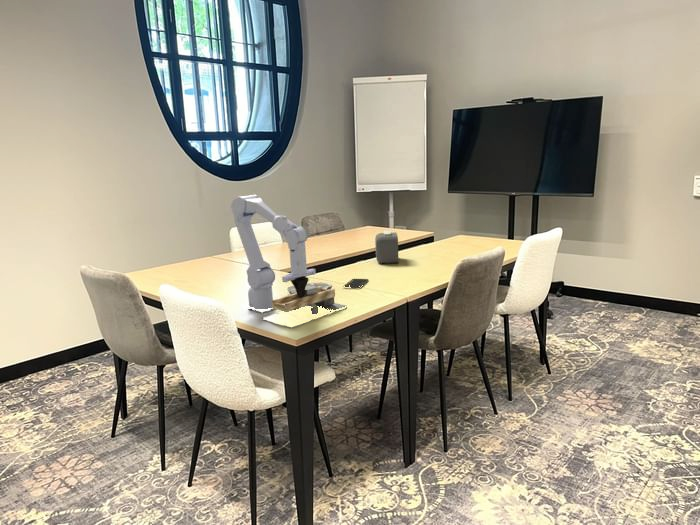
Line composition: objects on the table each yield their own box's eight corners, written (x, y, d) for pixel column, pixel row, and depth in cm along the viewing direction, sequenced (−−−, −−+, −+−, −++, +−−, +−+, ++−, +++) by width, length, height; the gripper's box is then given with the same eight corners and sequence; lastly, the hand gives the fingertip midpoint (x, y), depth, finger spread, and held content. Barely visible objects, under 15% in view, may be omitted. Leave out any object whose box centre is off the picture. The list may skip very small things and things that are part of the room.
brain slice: (309, 286, 235) (309, 280, 234) (338, 291, 224) (337, 285, 223) (277, 297, 220) (276, 290, 219) (306, 303, 209) (305, 296, 209)
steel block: (307, 300, 191) (306, 289, 190) (299, 298, 195) (298, 287, 194) (318, 297, 194) (317, 287, 193) (309, 295, 198) (309, 285, 197)
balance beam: (291, 321, 181) (290, 304, 180) (269, 315, 189) (268, 299, 188) (339, 304, 199) (338, 289, 197) (317, 300, 206) (316, 285, 205)
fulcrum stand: (291, 328, 179) (290, 319, 178) (261, 320, 190) (261, 311, 189) (346, 308, 199) (346, 299, 198) (317, 301, 210) (317, 293, 209)
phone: (342, 286, 228) (352, 278, 242) (342, 289, 228) (352, 280, 242) (360, 287, 225) (369, 278, 239) (360, 290, 226) (369, 281, 240)
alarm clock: (398, 264, 271) (397, 234, 268) (376, 265, 272) (375, 235, 268) (396, 257, 287) (395, 229, 284) (375, 258, 288) (374, 230, 284)
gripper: (290, 265, 181) (293, 303, 184) (320, 258, 191) (322, 294, 194) (277, 263, 186) (280, 300, 188) (307, 256, 196) (309, 291, 199)
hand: (300, 297), depth 192 cm, fingers closed
